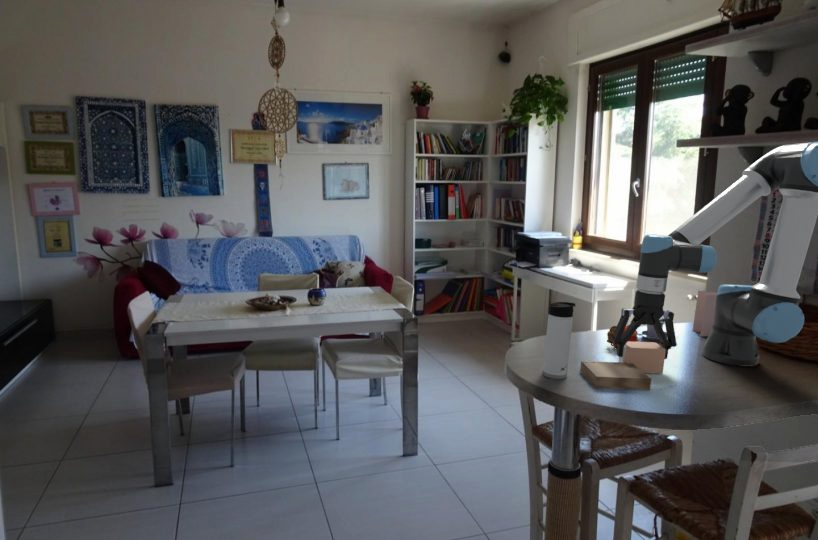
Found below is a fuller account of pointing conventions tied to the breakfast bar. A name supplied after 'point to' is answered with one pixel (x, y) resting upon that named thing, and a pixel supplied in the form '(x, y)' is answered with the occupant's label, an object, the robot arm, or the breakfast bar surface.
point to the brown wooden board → (615, 375)
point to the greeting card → (704, 312)
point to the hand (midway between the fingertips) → (640, 368)
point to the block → (646, 356)
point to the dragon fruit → (632, 338)
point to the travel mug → (558, 340)
